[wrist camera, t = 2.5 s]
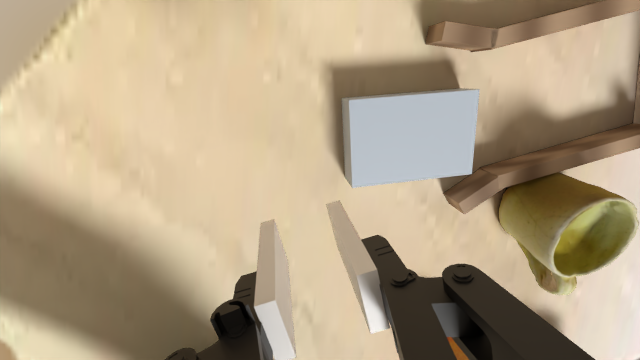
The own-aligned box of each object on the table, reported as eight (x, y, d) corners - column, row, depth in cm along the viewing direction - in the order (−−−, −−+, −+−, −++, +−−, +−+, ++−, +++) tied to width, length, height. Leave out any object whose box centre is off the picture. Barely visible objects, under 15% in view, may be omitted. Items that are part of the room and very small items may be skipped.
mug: (515, 151, 32) (625, 209, 24) (565, 159, 37) (670, 210, 29) (457, 242, 37) (533, 314, 30) (508, 239, 42) (584, 299, 35)
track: (444, 204, 35) (471, 224, 30) (423, 27, 29) (453, 18, 24) (642, 146, 36) (697, 156, 32) (662, -34, 30) (734, -55, 25)
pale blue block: (344, 176, 33) (352, 187, 29) (340, 97, 30) (348, 100, 27) (452, 164, 34) (471, 174, 31) (457, 88, 31) (479, 89, 28)
